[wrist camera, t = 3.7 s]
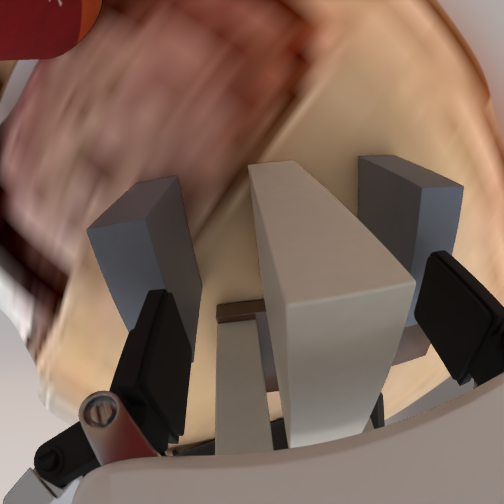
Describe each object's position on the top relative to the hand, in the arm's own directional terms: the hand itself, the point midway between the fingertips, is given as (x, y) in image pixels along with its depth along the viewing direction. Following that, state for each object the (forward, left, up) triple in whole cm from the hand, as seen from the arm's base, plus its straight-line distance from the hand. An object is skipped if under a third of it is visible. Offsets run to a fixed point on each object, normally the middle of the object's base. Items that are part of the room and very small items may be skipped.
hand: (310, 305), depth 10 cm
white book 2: (0, 0, -7) cm, 7 cm away
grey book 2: (0, +6, -7) cm, 9 cm away
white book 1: (+9, -3, -6) cm, 11 cm away
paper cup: (-15, -11, -7) cm, 20 cm away
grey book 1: (0, -6, -7) cm, 9 cm away
